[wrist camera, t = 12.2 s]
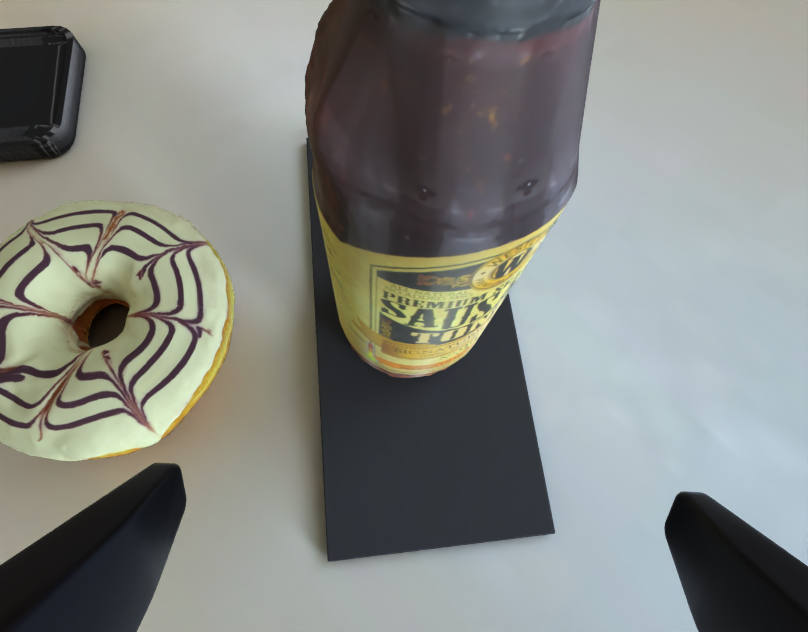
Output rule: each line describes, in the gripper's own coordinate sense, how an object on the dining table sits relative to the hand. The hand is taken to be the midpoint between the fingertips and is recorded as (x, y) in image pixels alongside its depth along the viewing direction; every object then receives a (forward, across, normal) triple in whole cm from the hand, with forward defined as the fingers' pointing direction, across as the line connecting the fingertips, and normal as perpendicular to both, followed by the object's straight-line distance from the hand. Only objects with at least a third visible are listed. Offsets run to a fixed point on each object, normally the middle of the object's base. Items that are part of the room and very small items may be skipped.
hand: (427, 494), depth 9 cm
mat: (+14, 0, +3) cm, 14 cm away
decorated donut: (+12, +13, +4) cm, 18 cm away
